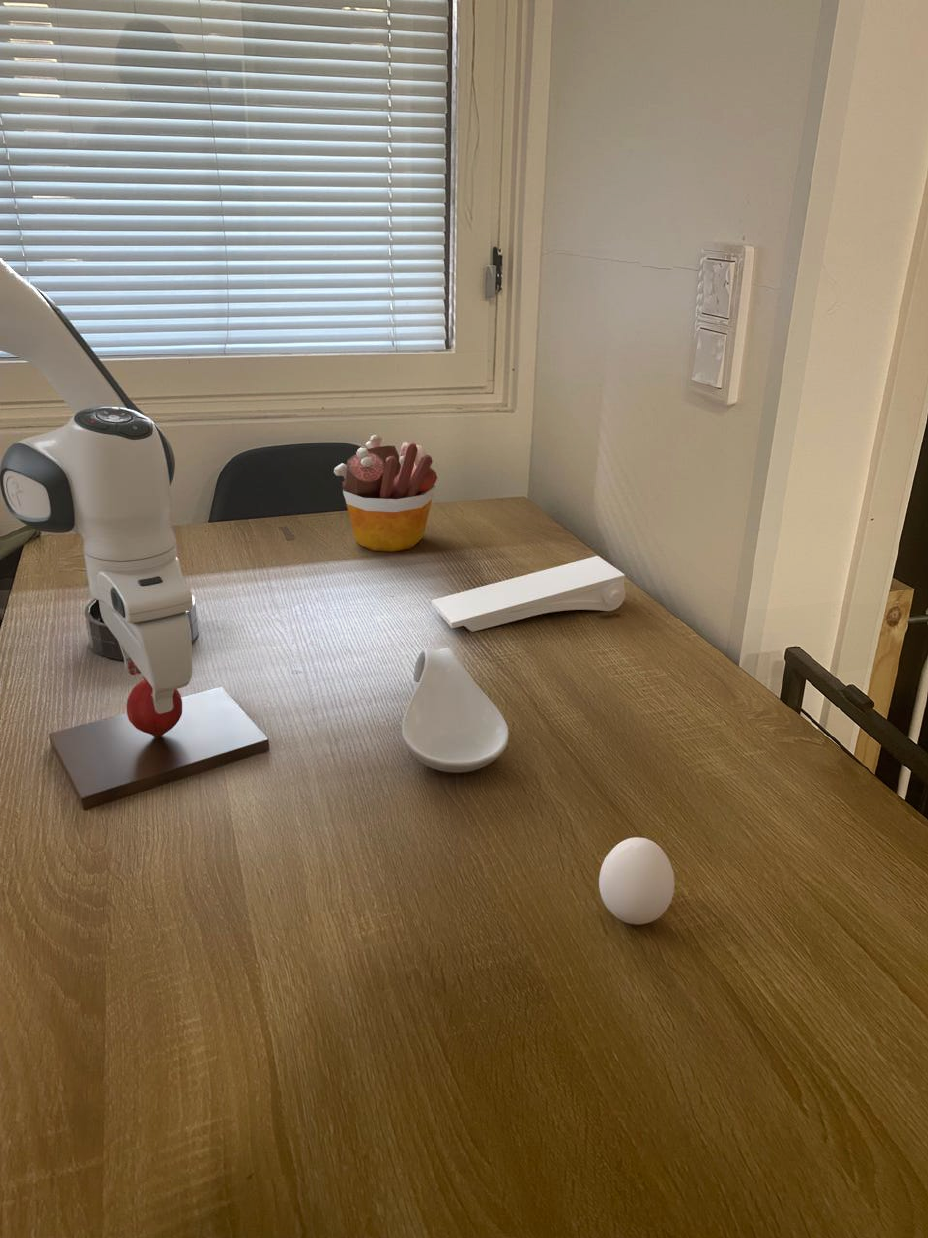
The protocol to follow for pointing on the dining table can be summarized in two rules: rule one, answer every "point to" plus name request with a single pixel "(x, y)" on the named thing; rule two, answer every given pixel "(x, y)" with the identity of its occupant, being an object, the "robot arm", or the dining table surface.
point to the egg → (636, 881)
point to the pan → (106, 641)
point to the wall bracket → (536, 595)
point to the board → (155, 748)
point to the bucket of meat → (388, 494)
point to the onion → (151, 711)
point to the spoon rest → (451, 717)
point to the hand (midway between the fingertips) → (149, 690)
